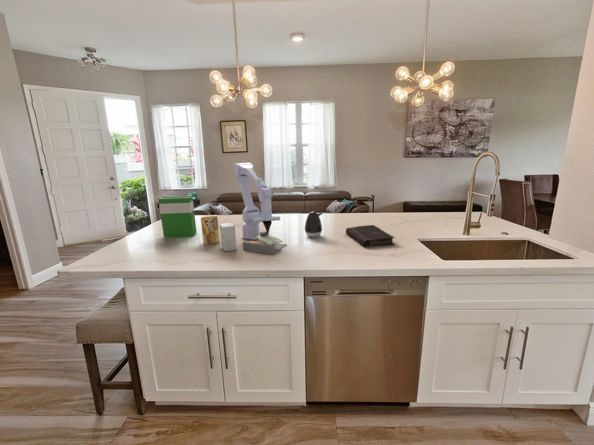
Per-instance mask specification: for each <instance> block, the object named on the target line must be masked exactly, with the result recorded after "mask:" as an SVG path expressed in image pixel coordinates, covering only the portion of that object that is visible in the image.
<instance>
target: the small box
mask: <svg viewBox="0 0 594 445" xmlns="http://www.w3.org/2000/svg"><path fill="white" fill-rule="evenodd" d="M219 232H220V233H219V234H220V240H221V242H220V243H221V248H222V250H223V251H224V252H229V251H235V250H237V239H236V238H237V237H236V226H235V225H234V224H233V223H232V222H227V223H226V222H225V223H224V222H223V223H219Z"/></svg>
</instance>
